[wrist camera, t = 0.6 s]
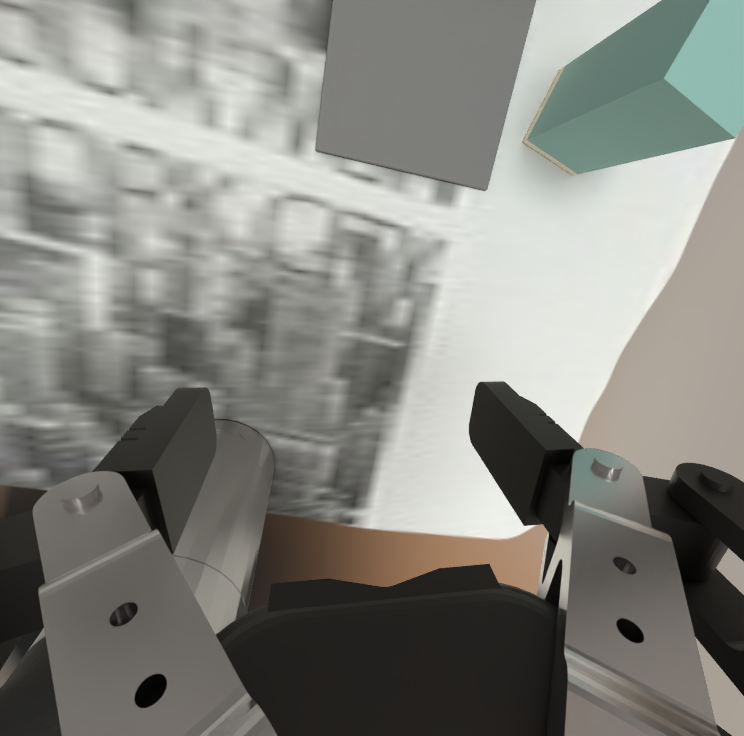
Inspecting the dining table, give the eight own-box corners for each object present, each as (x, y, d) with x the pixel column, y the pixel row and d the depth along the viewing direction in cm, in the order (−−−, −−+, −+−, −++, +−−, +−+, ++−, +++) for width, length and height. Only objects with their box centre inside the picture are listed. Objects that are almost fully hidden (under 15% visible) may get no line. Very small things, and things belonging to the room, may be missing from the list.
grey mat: (484, 190, 28) (487, 190, 28) (315, 151, 26) (315, 149, 25) (545, -45, 23) (548, -49, 23) (346, -120, 21) (347, -126, 21)
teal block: (572, 175, 28) (735, 138, 17) (522, 141, 27) (663, 78, 16) (610, 108, 27) (813, 21, 16) (559, 69, 26) (742, -55, 15)
